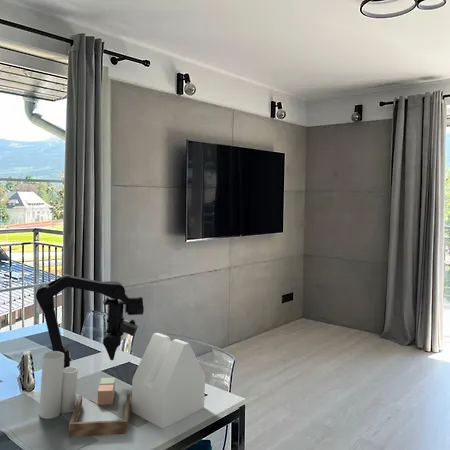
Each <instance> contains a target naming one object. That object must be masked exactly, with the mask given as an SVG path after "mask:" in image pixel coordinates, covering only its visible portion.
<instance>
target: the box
mask: <svg viewBox="0 0 450 450" xmlns="http://www.w3.org/2000/svg"><path fill="white" fill-rule="evenodd" d="M130 405H131V393H127V394H126V401H125V409H124V417H123V418H124V419H116V420H94V421H79V418H80V414H81V411H82V409H83V395H79V396H78V398H77V401H76V402H75V408H74V410H73V411H72V415H71V418H70V420H69V423H68V438H76V437H77V438H79V437H80V438H81V436H83V437H98V436H99V437H101V436H116V435H118V436H119V435H120V436H121V435H128V428H129V427H128V425H129V416H130V410H131V409H130V407H131V406H130Z"/></svg>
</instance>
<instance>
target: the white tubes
mask: <svg viewBox="0 0 450 450" xmlns="http://www.w3.org/2000/svg"><path fill="white" fill-rule="evenodd" d="M41 366H42V367H41V377H40V378H41V379H40V381H41V383H40V393H39V394H40V396H39V410H38V411H39V412H38V413H39V414H38V416H39V417H40V418H42V419H44V420H45V419H46V420H51V419H55V418H57V417H59V416H60V415H61V413H62V414H68V413H71V412H72V413H73V411H74V408H75V406H76V399H77V385H78V372H79V371H78V370H79V369H78V367H76V366H70V367H66V368H64V353H62V352H59V351H53V350H51V351H47V352H44V353H43V354H42V365H41Z"/></svg>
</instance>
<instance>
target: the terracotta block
mask: <svg viewBox="0 0 450 450" xmlns="http://www.w3.org/2000/svg"><path fill="white" fill-rule="evenodd" d="M98 385H99V386H98V388H97V406H103V405H104V404H110V405H113V404H114V403H113V402H114V399H113V398H115V393H114V385H100V384H98ZM100 404H101V405H100Z"/></svg>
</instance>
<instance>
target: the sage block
mask: <svg viewBox="0 0 450 450" xmlns="http://www.w3.org/2000/svg"><path fill="white" fill-rule="evenodd" d="M99 385H114V394H115V392H116V377H101V379H100V381H99Z"/></svg>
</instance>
